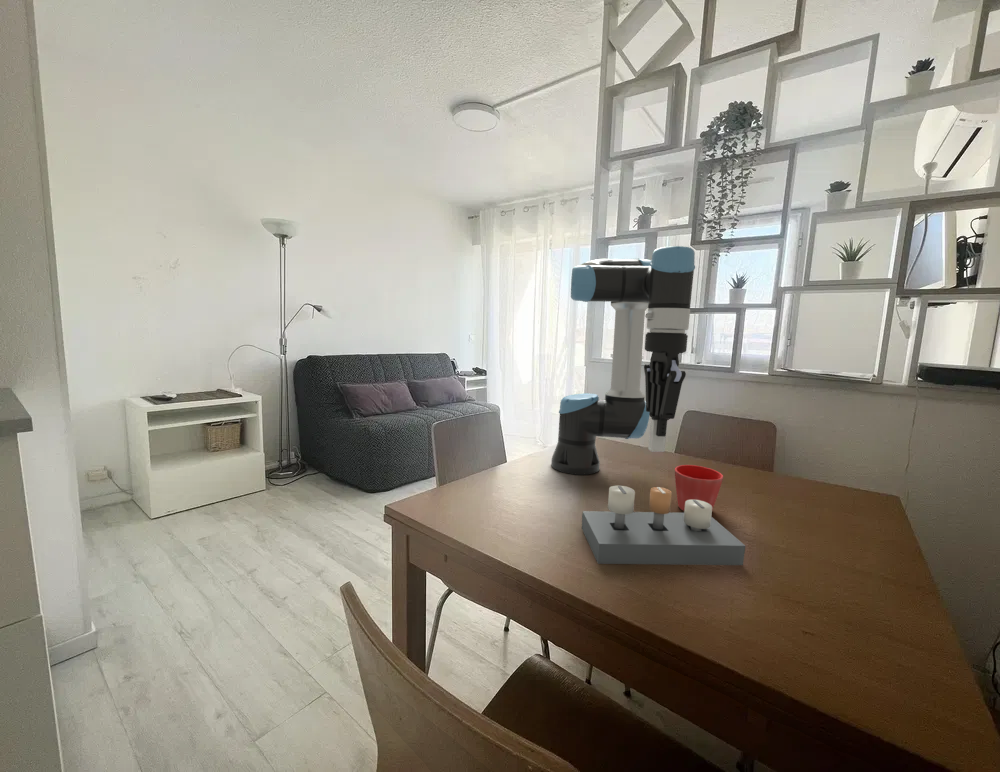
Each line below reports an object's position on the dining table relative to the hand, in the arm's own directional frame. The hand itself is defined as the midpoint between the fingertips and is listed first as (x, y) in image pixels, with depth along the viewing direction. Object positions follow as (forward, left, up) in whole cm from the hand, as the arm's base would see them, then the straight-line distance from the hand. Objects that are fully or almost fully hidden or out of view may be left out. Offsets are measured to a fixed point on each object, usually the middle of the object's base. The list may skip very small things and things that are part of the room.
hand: (656, 450), depth 84 cm
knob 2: (0, +10, -19) cm, 21 cm away
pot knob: (0, +2, -16) cm, 16 cm away
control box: (0, +2, -20) cm, 20 cm away
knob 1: (0, -6, -16) cm, 17 cm away
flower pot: (-18, +19, -21) cm, 33 cm away
